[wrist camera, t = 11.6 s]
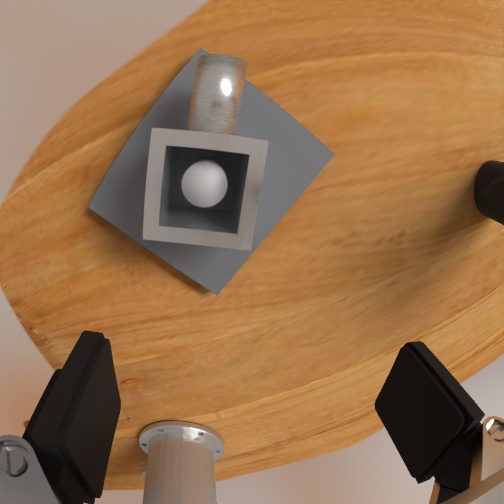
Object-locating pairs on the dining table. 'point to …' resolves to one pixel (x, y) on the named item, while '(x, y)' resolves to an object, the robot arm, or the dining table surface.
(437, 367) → the robot arm
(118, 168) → the plate
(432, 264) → the dining table surface
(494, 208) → the travel mug
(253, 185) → the grey hollow block
